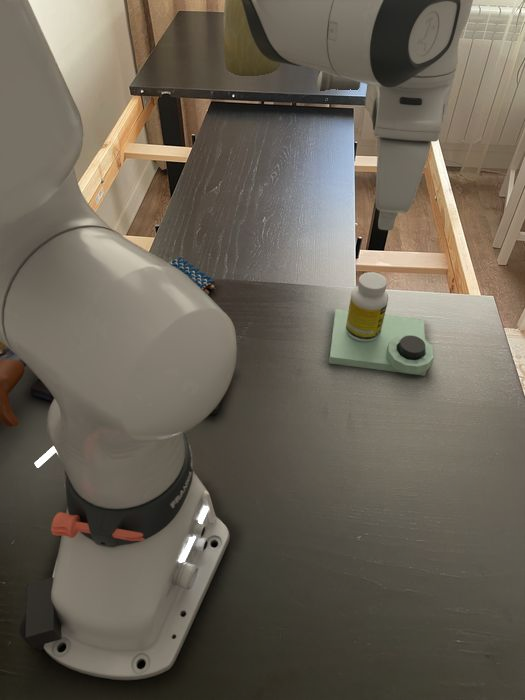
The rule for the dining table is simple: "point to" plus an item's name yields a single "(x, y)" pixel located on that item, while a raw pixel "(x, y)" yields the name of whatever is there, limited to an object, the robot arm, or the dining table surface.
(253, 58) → the vase
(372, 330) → the supplement bottle
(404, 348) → the tare button
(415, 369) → the scale
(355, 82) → the pipe fitting
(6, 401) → the figurine
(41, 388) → the eraser
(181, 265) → the woven mat
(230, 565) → the dining table surface
